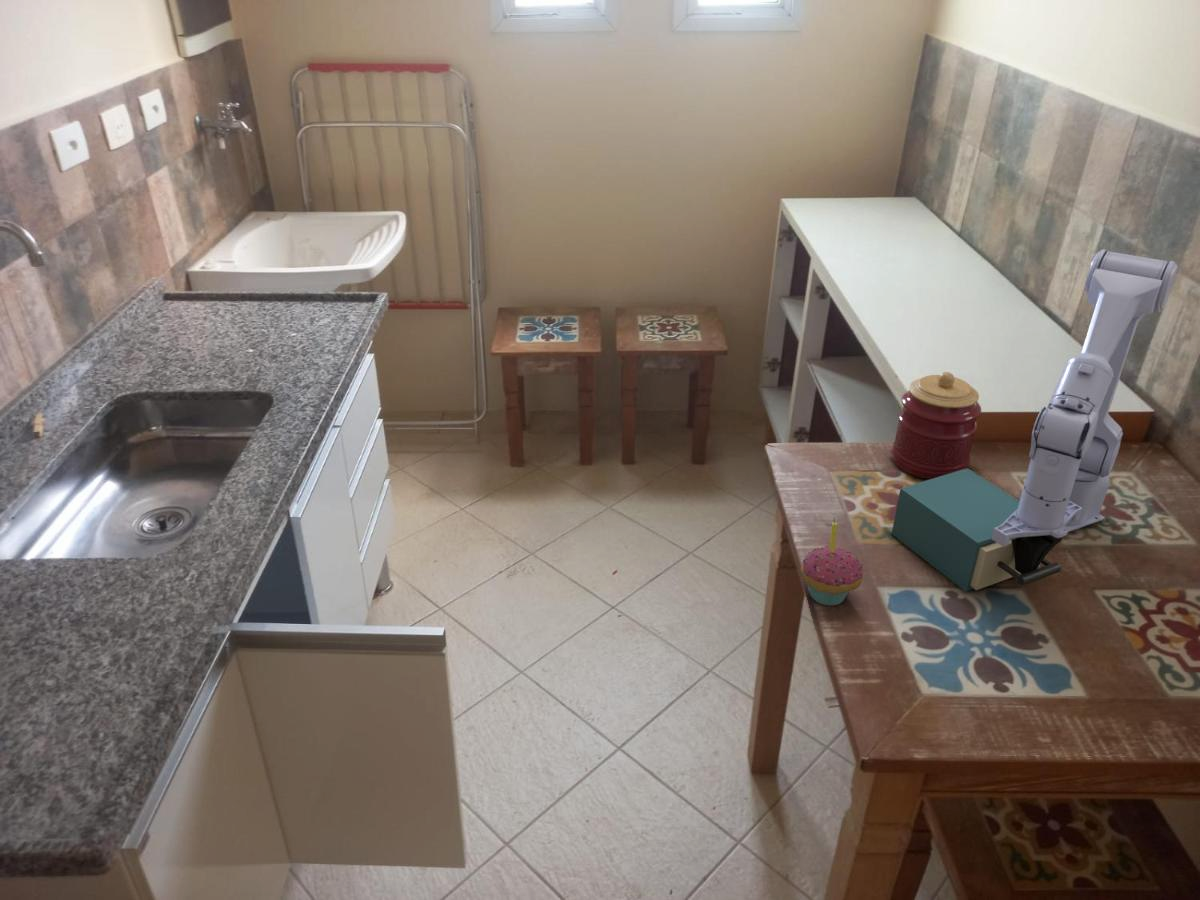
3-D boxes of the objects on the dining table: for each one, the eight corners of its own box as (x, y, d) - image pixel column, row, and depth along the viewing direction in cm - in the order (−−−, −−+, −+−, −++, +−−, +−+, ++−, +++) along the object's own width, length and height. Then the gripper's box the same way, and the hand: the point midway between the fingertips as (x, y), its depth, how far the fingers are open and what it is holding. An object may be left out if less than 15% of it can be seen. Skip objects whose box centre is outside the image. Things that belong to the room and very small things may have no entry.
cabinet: (1034, 566, 130) (1048, 518, 126) (965, 591, 126) (978, 543, 121) (956, 513, 143) (967, 468, 138) (891, 534, 138) (900, 488, 133)
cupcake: (790, 578, 129) (799, 510, 122) (847, 574, 129) (859, 507, 123) (807, 617, 121) (818, 547, 115) (867, 613, 122) (881, 543, 116)
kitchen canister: (956, 489, 149) (978, 397, 140) (881, 468, 155) (897, 378, 146) (975, 456, 158) (996, 367, 149) (903, 437, 164) (919, 351, 155)
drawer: (1067, 586, 125) (1080, 547, 122) (1003, 611, 121) (1014, 571, 117) (965, 516, 140) (974, 480, 137) (905, 536, 136) (912, 499, 132)
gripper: (1032, 519, 111) (1009, 602, 118) (1110, 491, 117) (1084, 573, 123) (989, 492, 117) (969, 573, 123) (1065, 467, 122) (1042, 546, 129)
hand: (1023, 571), depth 124 cm, fingers closed, pressing on drawer
